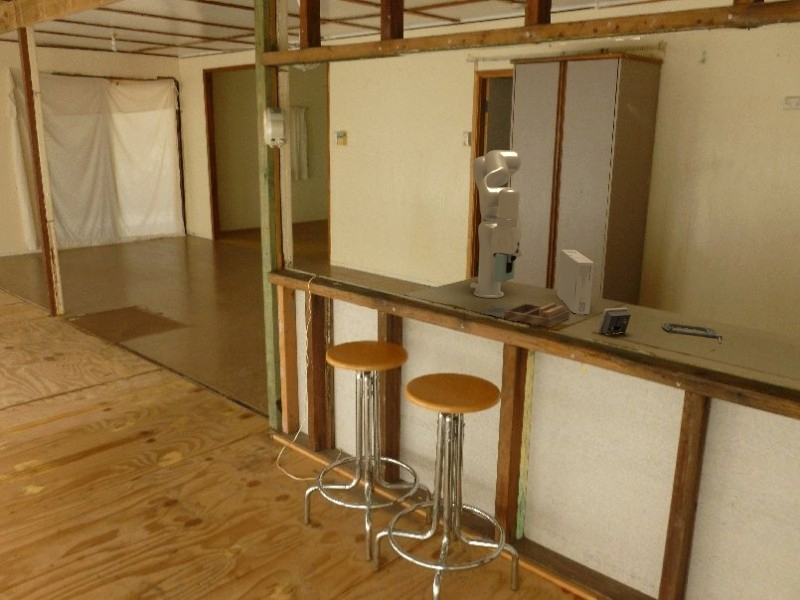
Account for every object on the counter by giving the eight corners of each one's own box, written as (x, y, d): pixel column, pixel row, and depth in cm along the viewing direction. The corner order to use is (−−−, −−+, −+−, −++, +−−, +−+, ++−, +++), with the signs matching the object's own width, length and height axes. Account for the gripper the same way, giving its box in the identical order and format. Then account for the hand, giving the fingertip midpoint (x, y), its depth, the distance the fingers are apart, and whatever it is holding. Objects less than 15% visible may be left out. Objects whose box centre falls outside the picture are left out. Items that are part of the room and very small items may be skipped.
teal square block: (493, 281, 250) (495, 254, 247) (506, 277, 258) (508, 251, 255) (501, 282, 248) (502, 255, 246) (513, 278, 256) (515, 252, 253)
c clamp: (725, 333, 236) (726, 325, 235) (721, 345, 221) (722, 337, 220) (664, 324, 245) (665, 317, 245) (656, 336, 231) (657, 328, 230)
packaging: (589, 314, 255) (594, 262, 251) (573, 314, 255) (577, 262, 251) (571, 296, 285) (575, 249, 280) (557, 296, 285) (560, 249, 280)
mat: (481, 314, 252) (481, 312, 252) (501, 306, 265) (501, 305, 265) (502, 318, 247) (502, 316, 247) (522, 310, 259) (522, 308, 259)
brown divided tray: (503, 318, 246) (504, 311, 246) (524, 310, 259) (525, 303, 258) (549, 327, 236) (550, 319, 235) (569, 318, 248) (569, 310, 248)
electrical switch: (620, 330, 234) (624, 305, 231) (629, 336, 230) (633, 310, 227) (597, 332, 232) (601, 307, 228) (605, 338, 227) (609, 312, 224)
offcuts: (537, 323, 241) (538, 308, 240) (551, 317, 250) (552, 302, 249) (548, 325, 238) (550, 310, 237) (563, 319, 248) (564, 304, 246)
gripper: (482, 221, 250) (480, 270, 254) (522, 225, 240) (519, 276, 244) (492, 220, 256) (490, 267, 260) (532, 224, 246) (528, 273, 250)
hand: (504, 271), depth 252 cm, fingers closed on teal square block, 3 cm apart
